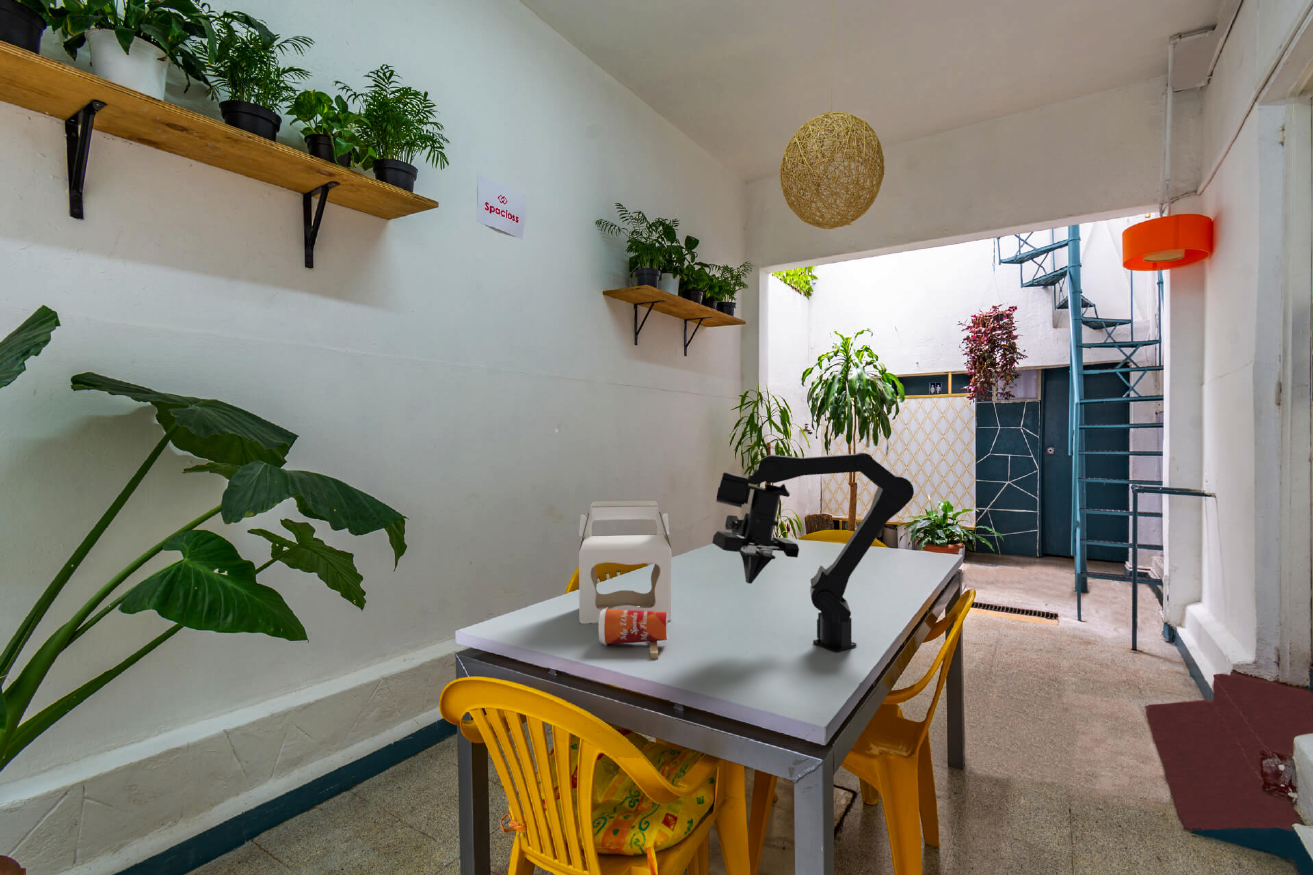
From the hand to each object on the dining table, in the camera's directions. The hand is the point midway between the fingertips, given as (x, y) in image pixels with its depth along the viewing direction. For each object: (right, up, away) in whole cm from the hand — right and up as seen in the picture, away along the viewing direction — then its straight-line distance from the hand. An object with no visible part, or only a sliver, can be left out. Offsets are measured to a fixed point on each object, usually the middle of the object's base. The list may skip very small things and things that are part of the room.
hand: (748, 582), depth 130 cm
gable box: (-28, -12, +18) cm, 35 cm away
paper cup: (-18, -8, -4) cm, 20 cm away
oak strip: (-21, -12, -5) cm, 24 cm away
